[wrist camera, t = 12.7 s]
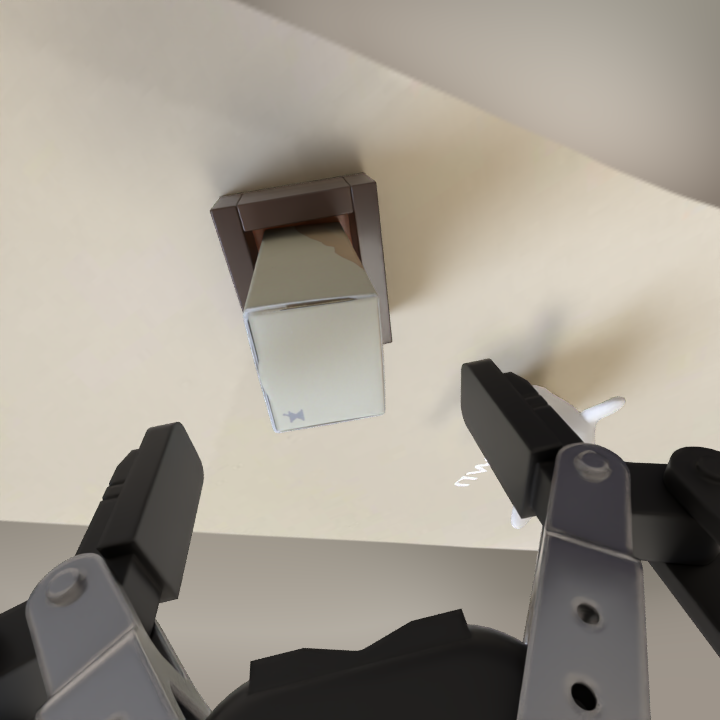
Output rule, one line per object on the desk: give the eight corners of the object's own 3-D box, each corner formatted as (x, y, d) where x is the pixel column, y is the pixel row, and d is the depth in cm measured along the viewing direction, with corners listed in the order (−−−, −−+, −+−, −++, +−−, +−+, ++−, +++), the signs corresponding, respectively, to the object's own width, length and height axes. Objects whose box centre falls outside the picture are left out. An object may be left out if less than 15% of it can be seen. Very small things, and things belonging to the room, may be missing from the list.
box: (349, 304, 24) (388, 423, 15) (278, 314, 24) (272, 442, 14) (340, 215, 21) (382, 292, 12) (260, 224, 21) (238, 311, 12)
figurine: (572, 339, 31) (491, 332, 25) (680, 407, 25) (606, 417, 20) (498, 449, 37) (417, 463, 31) (573, 526, 31) (491, 561, 25)
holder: (263, 339, 25) (260, 368, 22) (220, 196, 20) (208, 209, 17) (380, 317, 25) (392, 342, 23) (364, 172, 21) (376, 181, 18)
